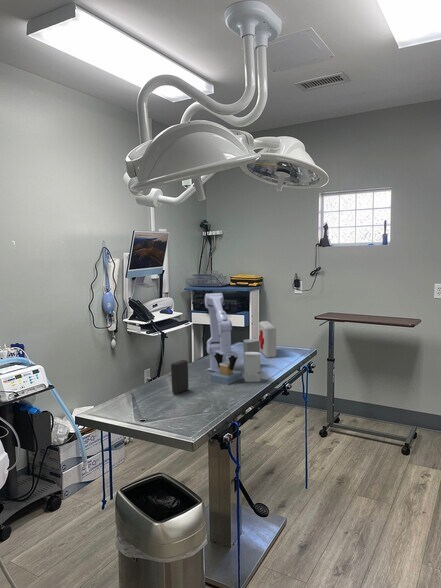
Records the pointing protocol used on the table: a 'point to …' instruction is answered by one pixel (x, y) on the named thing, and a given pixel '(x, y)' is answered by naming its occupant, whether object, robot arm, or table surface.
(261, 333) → the bevelled white case
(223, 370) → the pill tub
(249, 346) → the skincare box
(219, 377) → the box
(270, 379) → the table surface
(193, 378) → the table surface
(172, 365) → the card reader
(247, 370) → the skincare box
